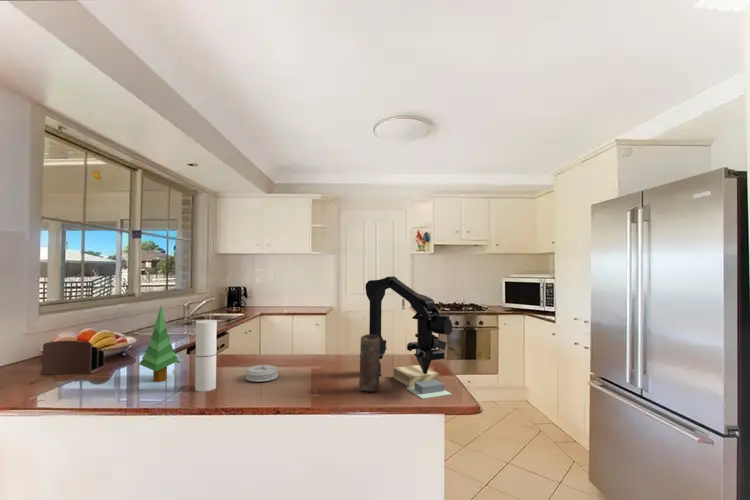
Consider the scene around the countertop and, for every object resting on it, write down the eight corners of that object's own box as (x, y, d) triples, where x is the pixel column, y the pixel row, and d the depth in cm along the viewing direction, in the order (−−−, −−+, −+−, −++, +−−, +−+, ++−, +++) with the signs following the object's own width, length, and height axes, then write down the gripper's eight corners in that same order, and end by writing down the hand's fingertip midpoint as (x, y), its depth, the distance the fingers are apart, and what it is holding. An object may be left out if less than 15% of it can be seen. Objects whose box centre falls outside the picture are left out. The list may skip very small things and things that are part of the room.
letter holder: (90, 374, 169) (90, 340, 169) (40, 375, 168) (41, 341, 168) (104, 368, 179) (105, 336, 179) (58, 368, 178) (58, 336, 178)
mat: (422, 399, 139) (422, 398, 139) (406, 388, 150) (406, 387, 150) (451, 394, 144) (451, 393, 144) (434, 384, 155) (434, 384, 155)
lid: (238, 381, 160) (238, 368, 160) (261, 373, 172) (261, 361, 172) (262, 385, 154) (262, 372, 155) (284, 377, 166) (284, 365, 166)
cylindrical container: (195, 392, 146) (196, 323, 146) (194, 387, 152) (195, 320, 153) (217, 389, 149) (217, 322, 149) (214, 384, 155) (215, 319, 156)
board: (409, 387, 151) (409, 377, 152) (393, 377, 164) (393, 367, 164) (439, 383, 156) (439, 373, 156) (421, 374, 169) (421, 364, 169)
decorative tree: (132, 380, 160) (133, 305, 160) (173, 372, 171) (174, 302, 172) (144, 388, 150) (145, 308, 151) (187, 379, 162) (188, 304, 162)
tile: (414, 382, 149) (414, 389, 149) (422, 387, 143) (422, 394, 143) (435, 379, 152) (435, 386, 152) (444, 384, 147) (444, 391, 147)
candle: (382, 388, 151) (382, 334, 151) (376, 394, 144) (376, 338, 144) (363, 386, 153) (363, 333, 154) (356, 392, 146) (356, 337, 147)
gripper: (457, 334, 145) (457, 377, 145) (431, 326, 163) (431, 365, 162) (430, 336, 141) (430, 381, 141) (406, 328, 159) (406, 368, 158)
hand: (425, 373), depth 151 cm, fingers closed
